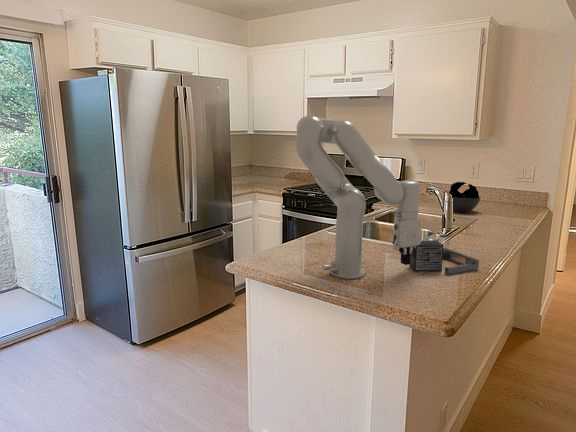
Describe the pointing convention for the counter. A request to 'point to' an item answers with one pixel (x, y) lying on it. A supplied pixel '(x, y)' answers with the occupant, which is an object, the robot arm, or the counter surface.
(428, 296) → the counter surface
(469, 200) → the coal bowl
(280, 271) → the counter surface
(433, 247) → the small box
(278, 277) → the counter surface
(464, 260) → the rack bay
